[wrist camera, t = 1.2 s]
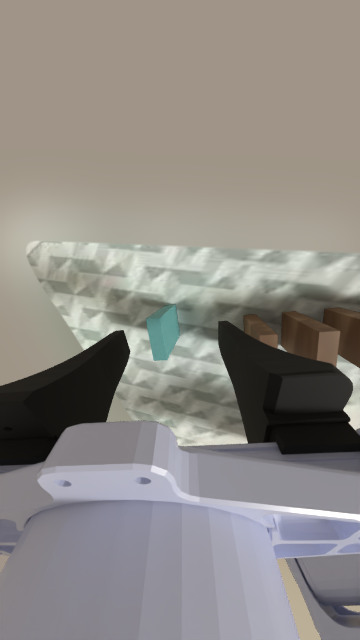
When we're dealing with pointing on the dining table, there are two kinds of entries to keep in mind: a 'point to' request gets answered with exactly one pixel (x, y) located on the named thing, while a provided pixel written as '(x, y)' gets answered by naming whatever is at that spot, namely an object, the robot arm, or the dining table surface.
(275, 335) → the walnut domino
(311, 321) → the walnut domino
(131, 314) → the dining table surface
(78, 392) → the robot arm
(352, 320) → the walnut domino
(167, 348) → the teal domino
